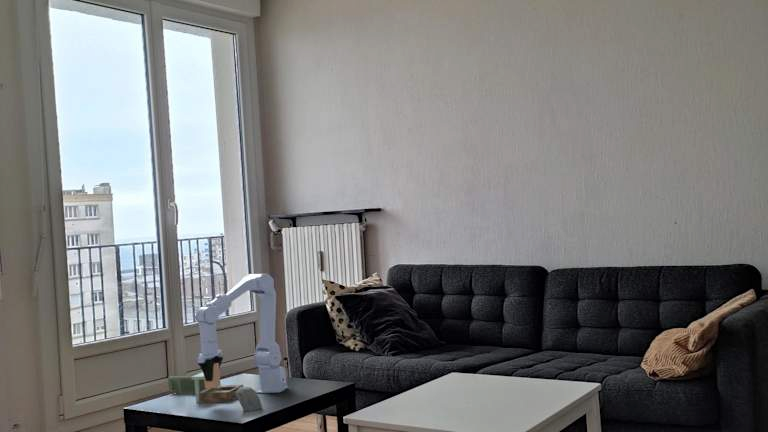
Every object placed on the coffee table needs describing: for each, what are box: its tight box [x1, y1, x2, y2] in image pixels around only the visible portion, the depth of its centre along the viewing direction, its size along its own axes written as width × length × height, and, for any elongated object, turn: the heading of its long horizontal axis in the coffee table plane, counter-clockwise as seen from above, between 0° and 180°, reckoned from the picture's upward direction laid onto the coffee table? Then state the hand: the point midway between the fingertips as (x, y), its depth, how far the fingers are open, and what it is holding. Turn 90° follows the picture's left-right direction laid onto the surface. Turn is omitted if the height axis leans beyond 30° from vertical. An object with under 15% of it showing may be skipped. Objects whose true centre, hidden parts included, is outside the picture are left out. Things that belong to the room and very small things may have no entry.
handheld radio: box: [167, 375, 208, 394], centre depth 306 cm, size 7×3×25 cm
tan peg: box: [204, 363, 222, 388], centre depth 280 cm, size 4×4×8 cm
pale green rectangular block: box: [191, 369, 221, 404], centre depth 293 cm, size 5×13×10 cm, turn 165°
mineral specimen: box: [235, 386, 263, 412], centre depth 270 cm, size 7×9×8 cm
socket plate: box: [198, 384, 244, 404], centre depth 292 cm, size 12×12×4 cm
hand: (212, 379), depth 280 cm, fingers closed on tan peg, 4 cm apart
